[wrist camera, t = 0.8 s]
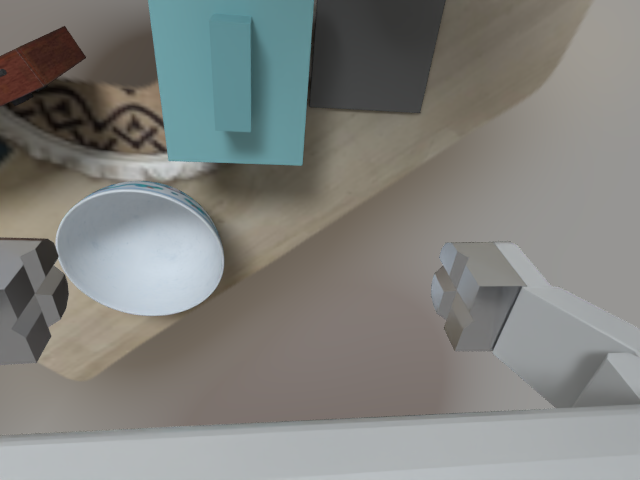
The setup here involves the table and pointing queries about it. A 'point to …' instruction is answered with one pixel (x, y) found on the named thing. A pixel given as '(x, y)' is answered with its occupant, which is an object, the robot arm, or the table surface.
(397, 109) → the mat
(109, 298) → the chinaware
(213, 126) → the lid
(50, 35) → the radio
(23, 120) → the table surface
